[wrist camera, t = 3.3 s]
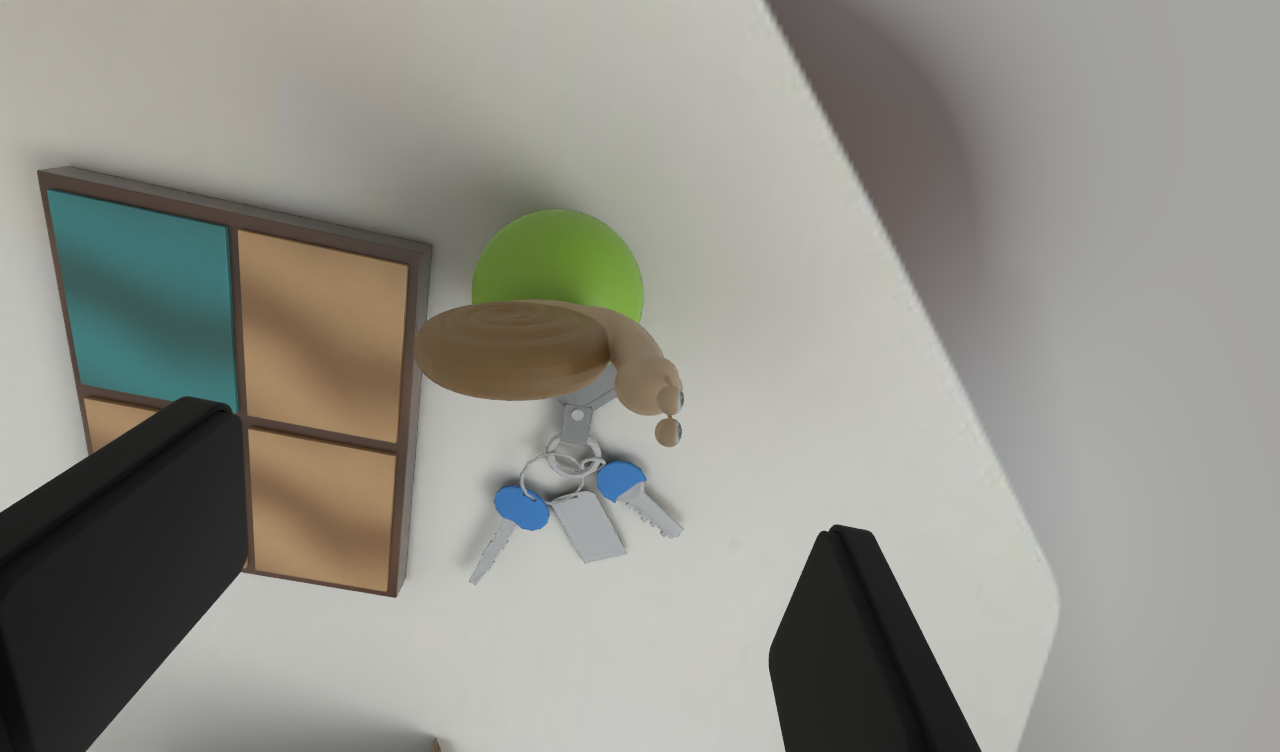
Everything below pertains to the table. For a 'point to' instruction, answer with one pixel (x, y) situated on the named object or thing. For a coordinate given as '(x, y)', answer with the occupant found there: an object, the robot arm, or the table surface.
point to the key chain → (579, 488)
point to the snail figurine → (553, 321)
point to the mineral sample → (436, 747)
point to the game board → (255, 357)
